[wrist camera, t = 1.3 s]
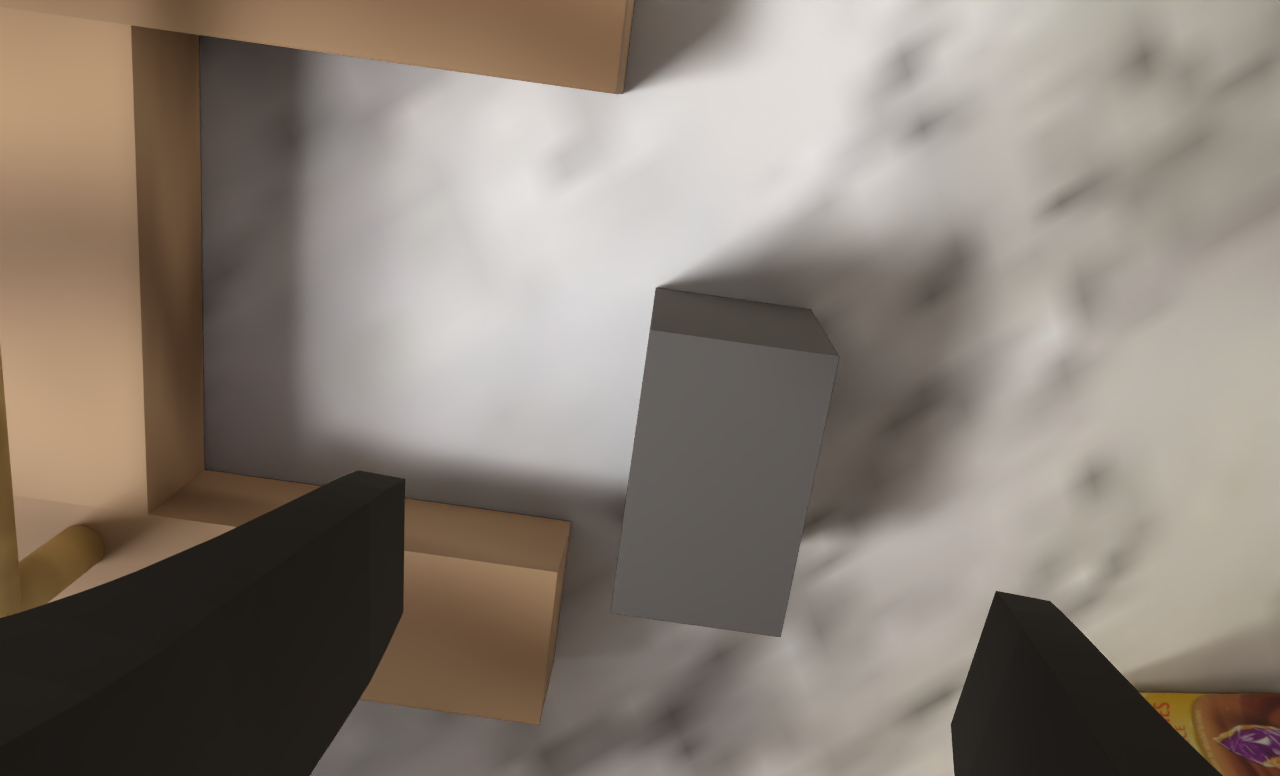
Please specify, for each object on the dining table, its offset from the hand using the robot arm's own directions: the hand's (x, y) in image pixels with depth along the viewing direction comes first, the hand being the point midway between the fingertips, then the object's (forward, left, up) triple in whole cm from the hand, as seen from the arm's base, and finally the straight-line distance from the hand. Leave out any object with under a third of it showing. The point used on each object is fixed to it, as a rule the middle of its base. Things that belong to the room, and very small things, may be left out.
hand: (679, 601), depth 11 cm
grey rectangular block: (-1, -1, -11) cm, 11 cm away
